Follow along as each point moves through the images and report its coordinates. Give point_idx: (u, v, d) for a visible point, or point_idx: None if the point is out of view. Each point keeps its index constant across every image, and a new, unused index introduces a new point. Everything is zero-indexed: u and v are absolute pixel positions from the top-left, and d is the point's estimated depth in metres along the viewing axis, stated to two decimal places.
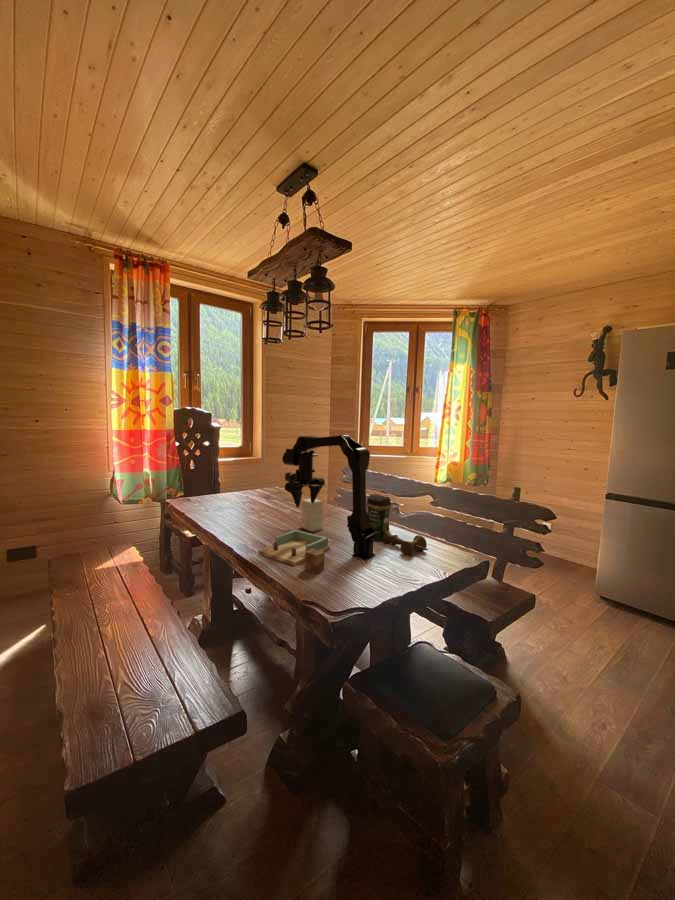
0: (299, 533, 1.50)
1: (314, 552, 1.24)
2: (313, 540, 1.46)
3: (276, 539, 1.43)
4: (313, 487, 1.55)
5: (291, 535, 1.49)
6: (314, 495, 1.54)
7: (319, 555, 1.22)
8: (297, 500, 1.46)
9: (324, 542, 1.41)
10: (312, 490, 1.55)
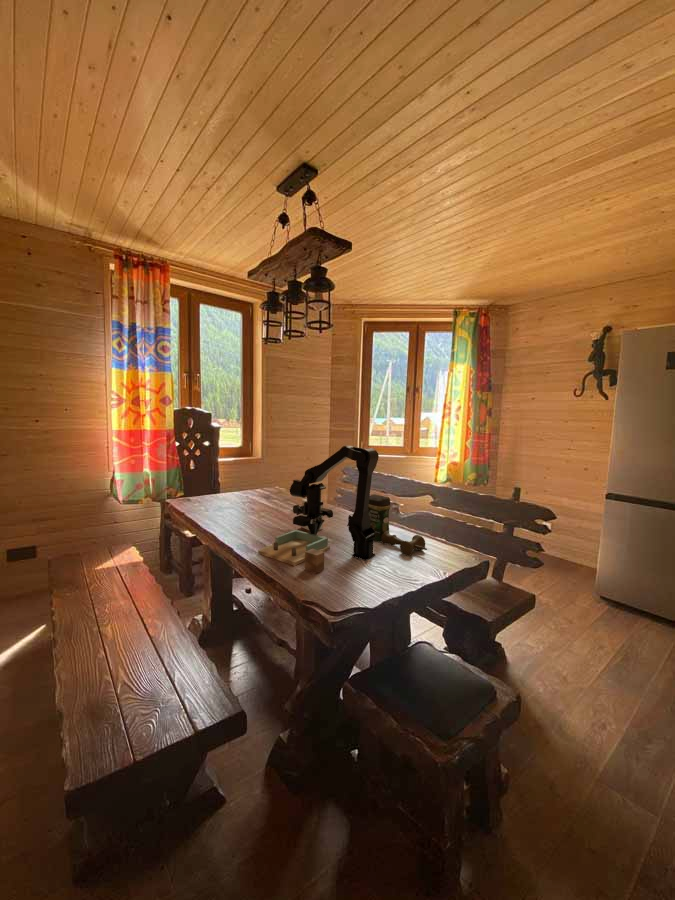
0: (299, 533, 1.50)
1: (314, 552, 1.24)
2: (313, 540, 1.46)
3: (276, 539, 1.43)
4: None
5: (291, 535, 1.49)
6: None
7: (319, 555, 1.22)
8: (313, 531, 1.47)
9: (324, 542, 1.41)
10: None
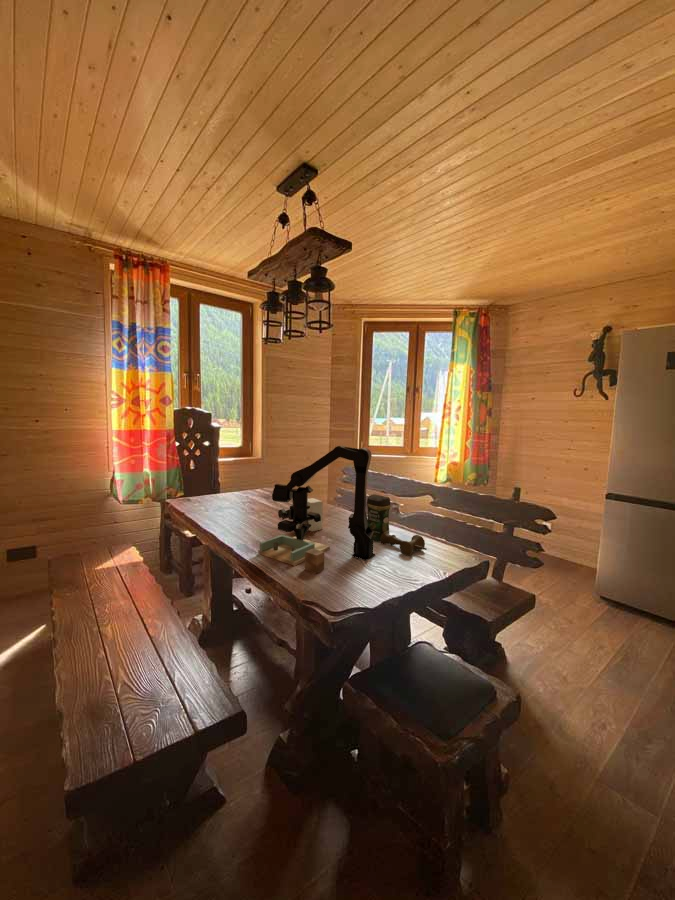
0: (285, 538, 1.43)
1: (314, 552, 1.24)
2: (299, 546, 1.39)
3: (260, 545, 1.36)
4: None
5: (277, 540, 1.42)
6: None
7: (319, 555, 1.22)
8: (299, 536, 1.41)
9: (310, 547, 1.35)
10: None
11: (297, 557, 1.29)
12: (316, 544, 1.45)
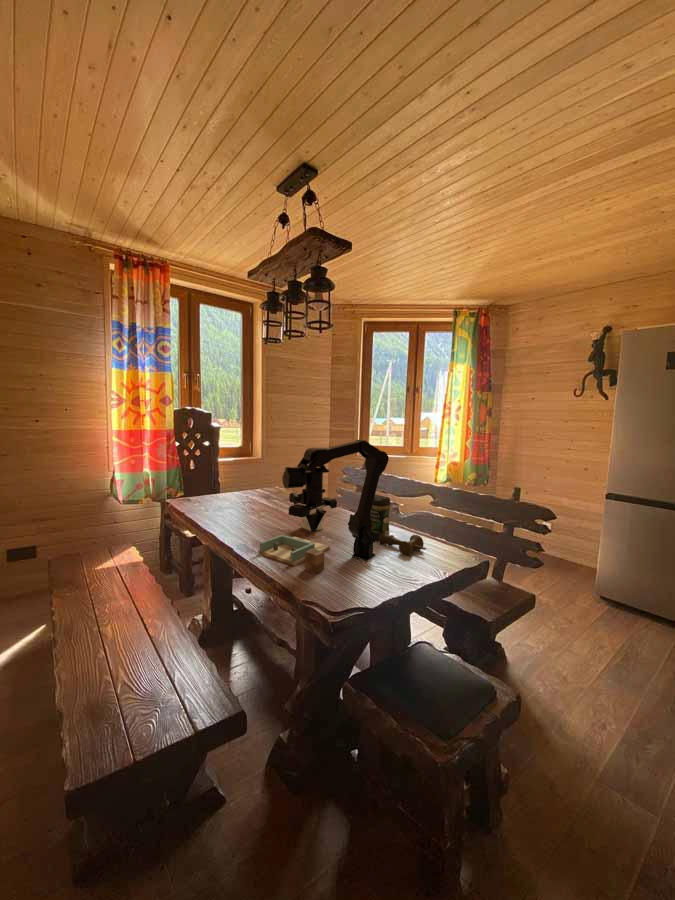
0: (285, 538, 1.43)
1: (314, 552, 1.24)
2: (299, 546, 1.39)
3: (260, 545, 1.36)
4: None
5: (277, 540, 1.42)
6: None
7: (319, 555, 1.22)
8: (312, 524, 1.24)
9: (310, 547, 1.35)
10: None
11: (297, 557, 1.29)
12: (316, 544, 1.45)
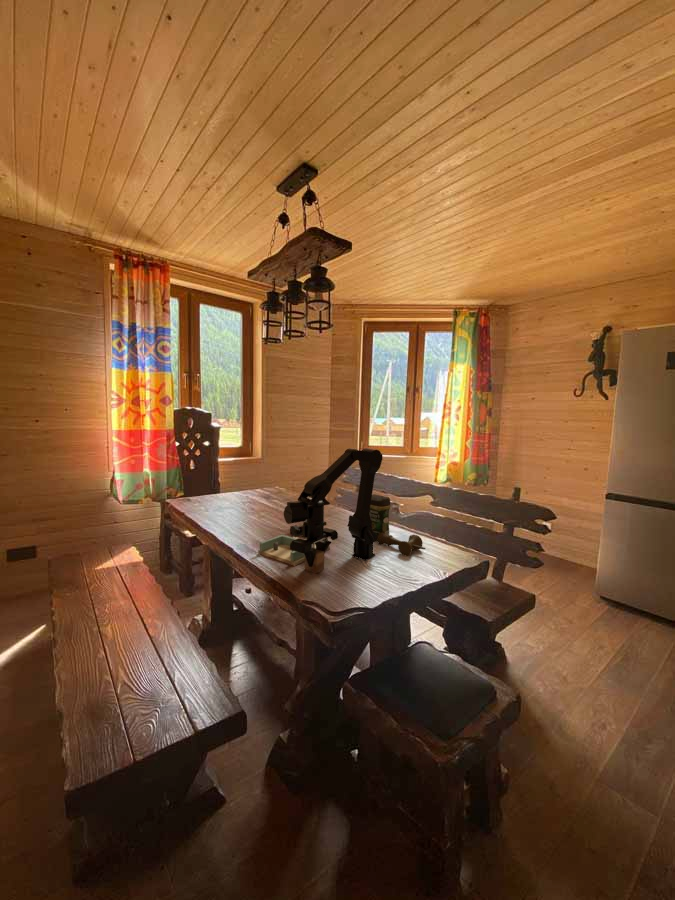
0: (285, 538, 1.43)
1: None
2: None
3: (260, 545, 1.36)
4: (319, 544, 1.26)
5: (277, 540, 1.42)
6: None
7: (319, 555, 1.22)
8: (310, 559, 1.21)
9: None
10: (318, 547, 1.26)
11: (297, 557, 1.29)
12: None
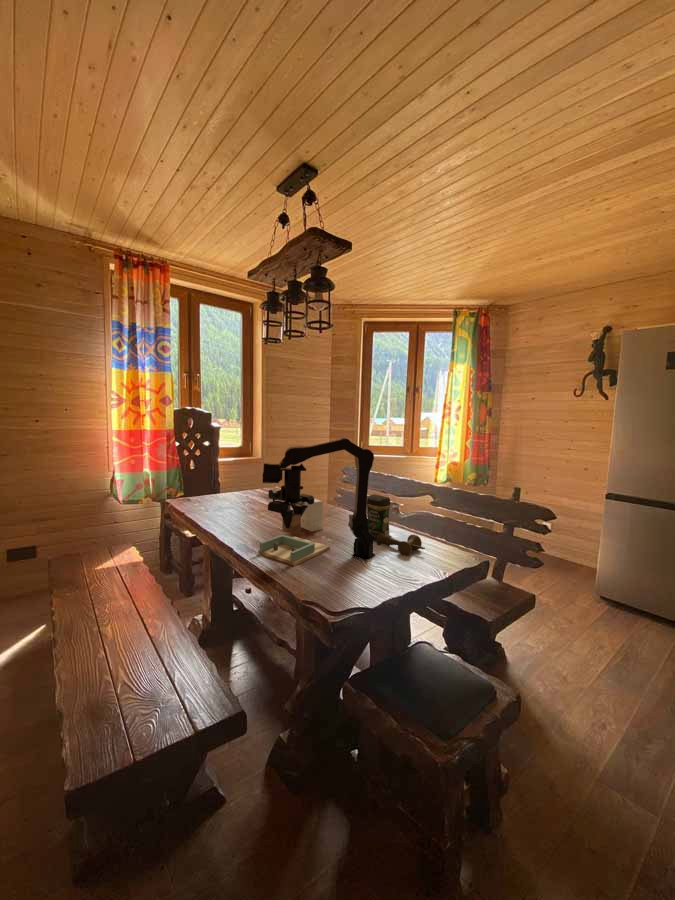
0: (285, 538, 1.43)
1: (292, 514, 1.31)
2: (299, 546, 1.39)
3: (260, 545, 1.36)
4: (296, 507, 1.33)
5: (277, 540, 1.42)
6: None
7: (296, 517, 1.29)
8: (287, 520, 1.28)
9: (310, 547, 1.35)
10: (295, 510, 1.33)
11: (297, 557, 1.29)
12: (316, 544, 1.45)
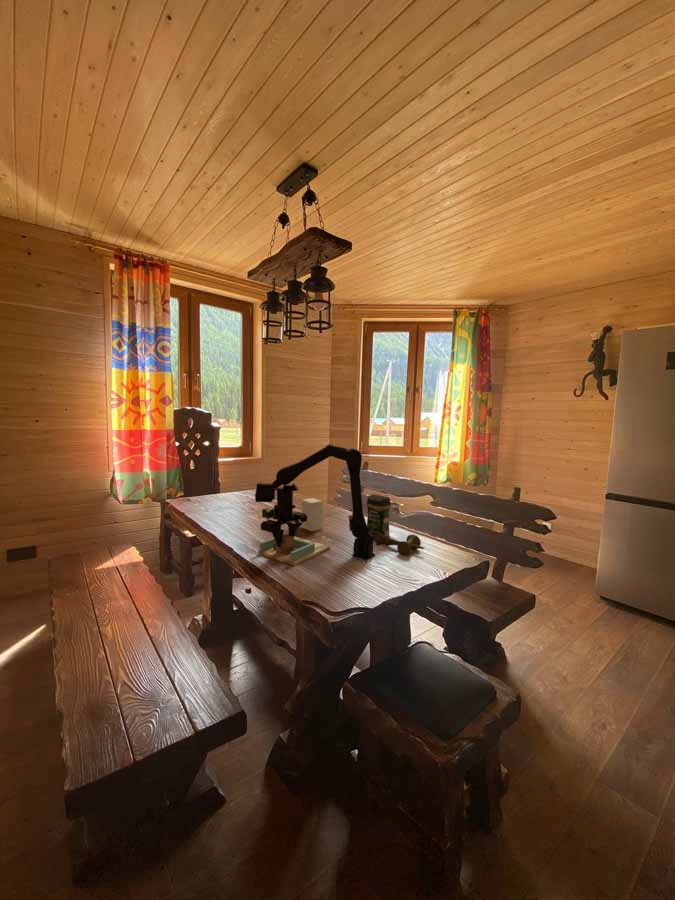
0: None
1: (285, 536, 1.35)
2: (299, 546, 1.39)
3: (260, 545, 1.36)
4: (291, 525, 1.38)
5: None
6: (292, 534, 1.37)
7: (288, 539, 1.33)
8: (278, 539, 1.31)
9: (310, 547, 1.35)
10: (290, 528, 1.38)
11: (297, 557, 1.29)
12: (316, 544, 1.45)
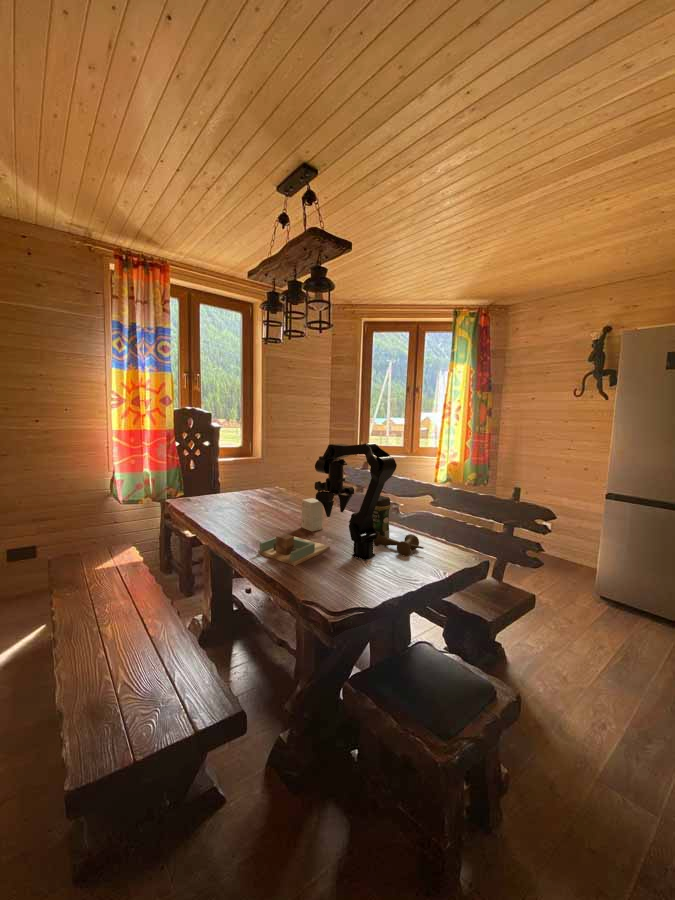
0: None
1: (285, 536, 1.35)
2: (299, 546, 1.39)
3: (260, 545, 1.36)
4: (342, 496, 1.52)
5: None
6: (344, 504, 1.51)
7: (288, 539, 1.33)
8: (328, 510, 1.43)
9: (310, 547, 1.35)
10: (342, 499, 1.52)
11: (297, 557, 1.29)
12: (316, 544, 1.45)
